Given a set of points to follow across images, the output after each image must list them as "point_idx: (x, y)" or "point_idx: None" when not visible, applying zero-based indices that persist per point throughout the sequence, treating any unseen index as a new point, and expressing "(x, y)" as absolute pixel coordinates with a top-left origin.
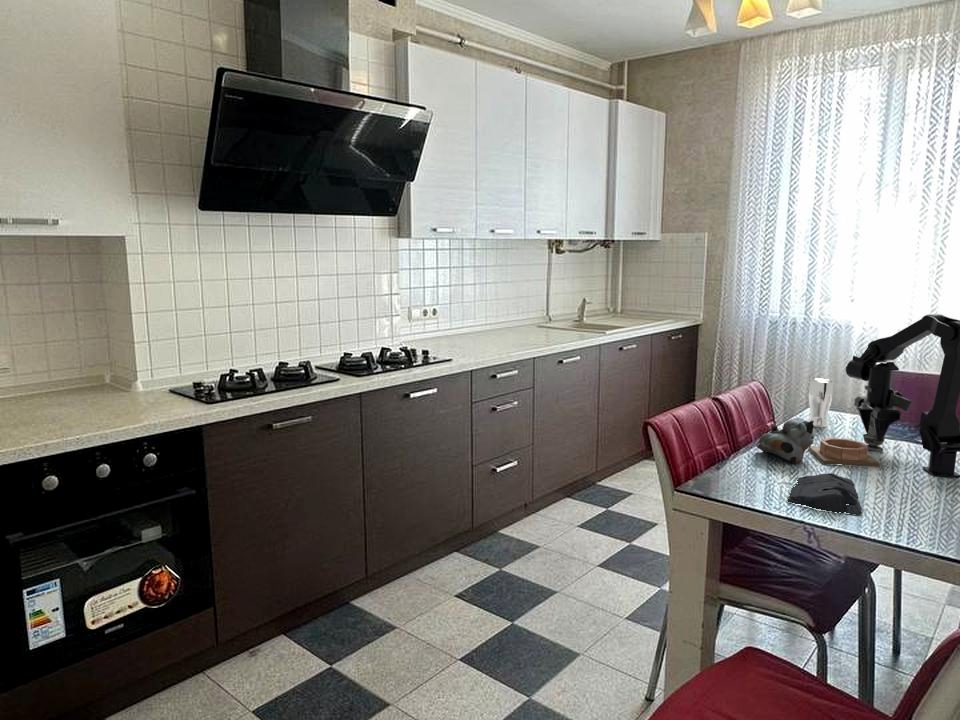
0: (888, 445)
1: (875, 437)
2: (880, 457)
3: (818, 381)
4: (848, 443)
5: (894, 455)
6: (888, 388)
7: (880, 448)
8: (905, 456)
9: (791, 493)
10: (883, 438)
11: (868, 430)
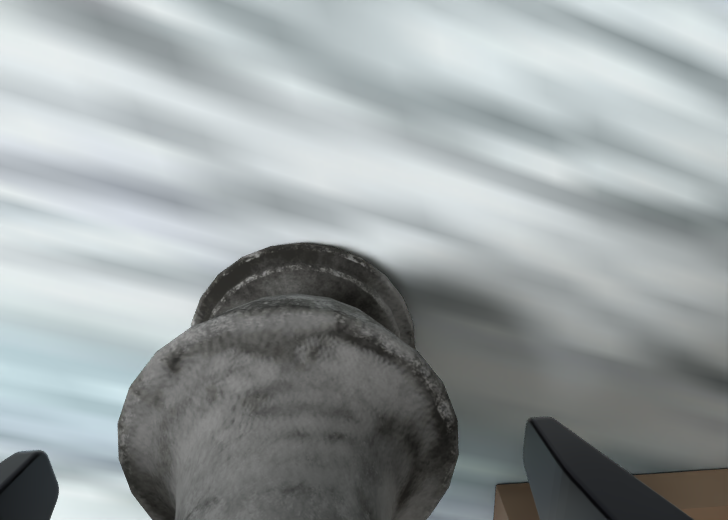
0: (22, 88)
1: (418, 479)
2: (652, 359)
3: None
4: None
5: (561, 185)
6: None
7: (369, 298)
8: (598, 50)
9: None
10: (415, 369)
11: (30, 515)
